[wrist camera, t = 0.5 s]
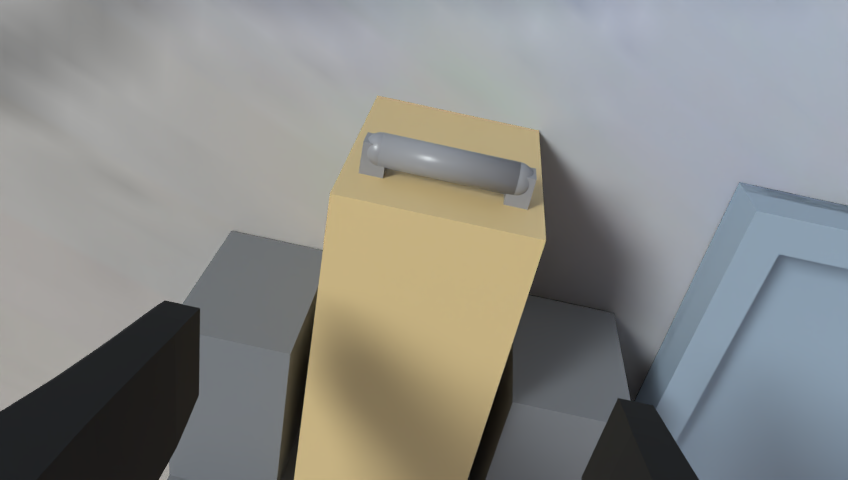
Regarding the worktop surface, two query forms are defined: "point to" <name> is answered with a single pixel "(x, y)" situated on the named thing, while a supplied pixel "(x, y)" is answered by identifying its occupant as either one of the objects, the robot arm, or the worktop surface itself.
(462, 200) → the tan block with handle
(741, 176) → the worktop surface
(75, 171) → the worktop surface
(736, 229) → the tray
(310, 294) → the dock
